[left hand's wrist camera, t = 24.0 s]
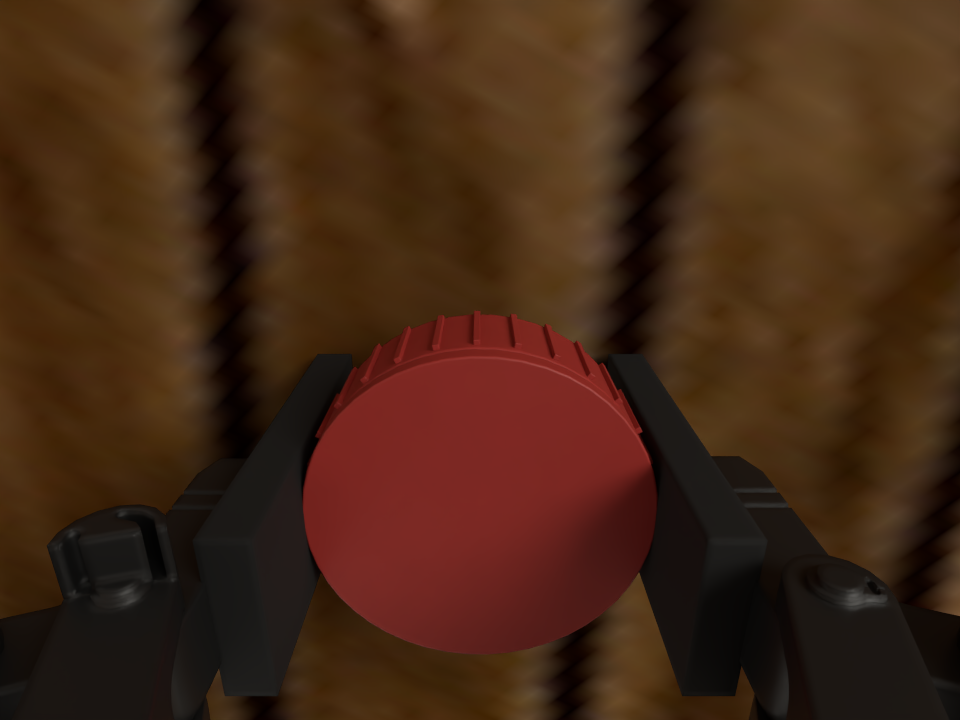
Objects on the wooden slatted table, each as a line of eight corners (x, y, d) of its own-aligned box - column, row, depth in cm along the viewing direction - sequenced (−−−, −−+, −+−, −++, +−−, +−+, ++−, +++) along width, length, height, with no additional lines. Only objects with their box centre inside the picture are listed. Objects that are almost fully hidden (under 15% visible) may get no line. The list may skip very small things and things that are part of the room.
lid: (368, 595, 13) (349, 678, 11) (287, 339, 11) (246, 387, 9) (644, 555, 13) (674, 634, 11) (617, 282, 11) (647, 319, 9)
